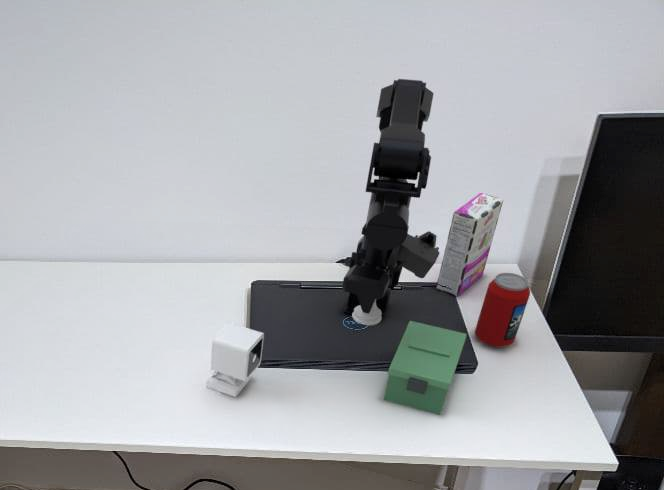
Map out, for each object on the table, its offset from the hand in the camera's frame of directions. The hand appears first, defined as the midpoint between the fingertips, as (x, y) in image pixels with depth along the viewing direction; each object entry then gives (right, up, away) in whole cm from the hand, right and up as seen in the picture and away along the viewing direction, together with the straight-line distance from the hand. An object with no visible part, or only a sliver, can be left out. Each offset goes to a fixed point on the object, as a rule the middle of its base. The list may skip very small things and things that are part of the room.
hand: (368, 307), depth 138 cm
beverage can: (+26, -4, +13) cm, 30 cm away
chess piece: (0, -2, +1) cm, 2 cm away
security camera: (-22, -13, +3) cm, 25 cm away
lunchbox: (+10, -12, +3) cm, 16 cm away
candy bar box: (+26, +8, +29) cm, 40 cm away
